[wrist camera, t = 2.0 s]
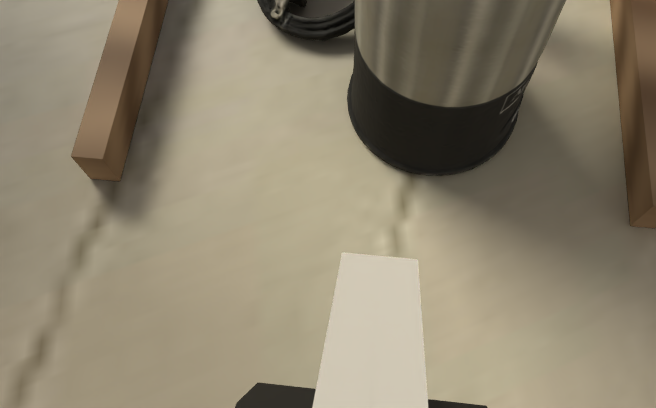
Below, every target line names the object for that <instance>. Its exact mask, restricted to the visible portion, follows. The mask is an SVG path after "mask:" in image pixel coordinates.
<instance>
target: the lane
mask: <svg viewBox="0 0 656 408" xmlns="http://www.w3.org/2000/svg"><path fill="white" fill-rule="evenodd" d="M167 4H168V0H119V2H118V5H117V8H116V11H115V15H114V18H113V21H112V24H111V28H110V31H109V34H108V37H107V41H106V44H105V47H104V50H103V54H102V57H101V60H100V63H99V67H98V70H97V73H96V76H95V80H94V83H93V86H92V89H91V93H90V96H89V99H88V102H87V106H86V109H85V112H84V115H83V119H82V122H81V125H80V128H79V132H78V135H77V138H76V141H75V145H74V148H73V151H72V154H71V157H72V158H73V159H74V160H75V162H76V163H77V164H78V165H79V166H80V167H81V168H82V170H83V171H84V172H85V173H86V174H87V175H88V176H89V177H90V179H100V180H112V181H120V179H121V176H122V172H123V168H124V165H125V161H126V157H127V153H128V150H129V146H130V142H131V138H132V135H133V131H134V127H135V123H136V120H137V116H138V112H139V109H140V105H141V101H142V97H143V94H144V90H145V86H146V82H147V79H148V75H149V71H150V67H151V64H152V60H153V56H154V52H155V49H156V45H157V41H158V38H159V34H160V30H161V26H162V23H163V19H164V15H165V11H166V8H167ZM610 6H611V17H612V28H613V39H614V50H615V61H616V73H617V84H618V95H619V106H620V117H621V128H622V139H623V150H624V162H625V173H626V184H627V195H628V206H629V217H630V226H636V227H648V228H656V0H610Z"/></svg>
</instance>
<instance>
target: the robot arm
mask: <svg viewBox="0 0 656 408" xmlns="http://www.w3.org/2000/svg"><path fill="white" fill-rule="evenodd" d="M235 408H487V406H483V405H474V404H465V403H456V402H447V401H438V400H429V399H428V395H427V381H426V367H425V353H424V338H423V324H422V310H421V296H420V282H419V268H418V259H409V258H398V257H388V256H377V255H366V254H356V253H345V252H342V255H341V261H340V266H339V271H338V276H337V281H336V287H335V292H334V297H333V302H332V308H331V313H330V318H329V323H328V328H327V334H326V339H325V344H324V349H323V354H322V360H321V365H320V370H319V375H318V380H317V386H316V389H311V388H302V387H293V386H284V385H275V384H266V383H257V384H256V385H255V386H254V387H253V388H252V389H251V390H250V391H249V392H248V393H247V394H246V395H244V396H243V397H242V398H241V399H240V400H239V401H238V402H237V404H236V406H235Z"/></svg>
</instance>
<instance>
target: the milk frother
mask: <svg viewBox="0 0 656 408" xmlns="http://www.w3.org/2000/svg"><path fill="white" fill-rule="evenodd" d="M257 1H258V3H259V5H260V7H261V10H262V12H263V13H264V15H265V16H266V17H267V19H268V20H269V21H270V22H271V23H272V24H273V25H275V26H276V27H277V28H278V29H280V30H282V31H284V32H286V33H288V34H290V35H293V36H296V37H299V38H303V39H309V40H327V39H331V38H335V37H338V36H341V35H343V34H346V33H348V32H349V31H350V30H352V29H354V28H355V53H354V69H353V74H352V76H351V80H350V84H349V88H348V95H347V102H348V111H349V115H350V118H351V122H352V124H353V127H354V129H355V131H356V133H357V134H358V136H359V137H360V139H361V140H362V141H363V143H364V144H365V145H366V146H367V147H368V148H369V149H370V150H371V151H372V152H373V153H374V154H376V155H377V156H378V157H380V158H381V159H383V160H384V161H385V162H387V163H389V164H391V165H392V166H395V167H397V168H400V169H402V170H406V171H408V172H413V173H417V174H423V175H451V174H456V173H460V172H464V171H467V170H470V169H473V168H475V167H477V166H479V165H481V164H483V163H484V162H486V161H487V160H489V159H490V158H491V157H493V156H494V155H495V154H496V153H497V152H498V151H499V150H500V149H501V148H502V147H503V146H504V144H505V143H506V141H507V140H508V138H509V137H510V135H511V133H512V131H513V129H514V126H515V123H516V121H517V116H518V109H519V107H520V104H521V101H522V98H523V93H524V90H525V88H526V86H527V84H528V83H529V81H530V79H531V76H532V74H533V72H534V70H535V68H536V66H537V62H538V59H539V57H540V56H541V54H542V52H543V50H544V48H545V46H546V43H547V41H548V39H549V37H550V35H551V33H552V30H553V28H554V26H555V24H556V21H557V19H558V17H559V15H560V13H561V10H562V8H563V6H564V4H565V1H566V0H354V1H353V3H351V4H350V5H349V6H347V7H346V8H344V9H343V10H341V11H339V12H337V13H334V14H332V15H328V16H325V17H319V18H305V17H300V16H296V15H293V14H291V13H290V12H289V2H292V3H294V4H296V5H299V6H301V7H305V6H306V3H307V1H306V0H257Z"/></svg>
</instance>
